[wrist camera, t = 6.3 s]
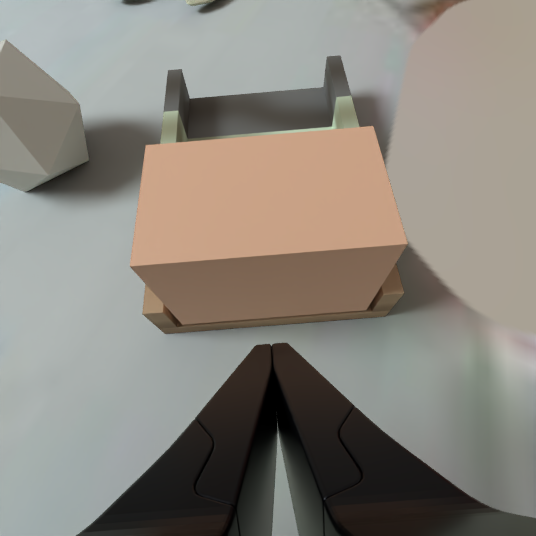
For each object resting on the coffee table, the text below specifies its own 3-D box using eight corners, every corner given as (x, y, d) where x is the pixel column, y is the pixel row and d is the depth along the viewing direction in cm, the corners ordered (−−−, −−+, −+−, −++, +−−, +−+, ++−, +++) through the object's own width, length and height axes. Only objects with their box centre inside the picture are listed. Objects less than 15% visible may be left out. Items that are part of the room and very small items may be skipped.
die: (92, 116, 29) (-54, 29, 23) (131, 106, 23) (-51, -18, 17) (55, 203, 29) (-105, 141, 22) (85, 215, 23) (-122, 135, 16)
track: (385, 316, 20) (404, 293, 16) (164, 333, 20) (142, 314, 17) (334, 98, 28) (340, 55, 25) (181, 111, 28) (168, 70, 25)
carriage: (366, 310, 18) (408, 243, 12) (182, 324, 18) (129, 266, 12) (347, 218, 21) (373, 125, 15) (186, 231, 21) (145, 145, 15)
